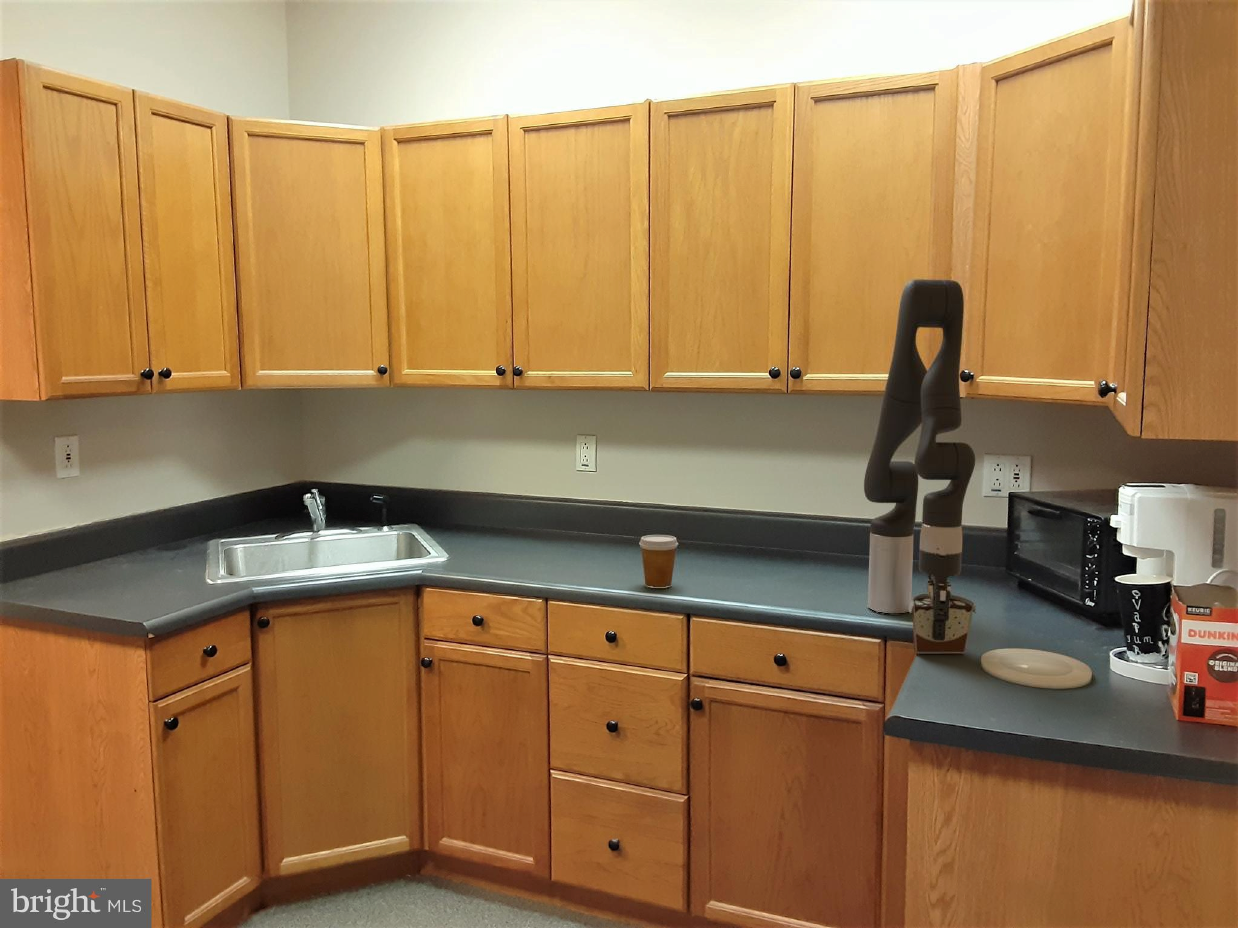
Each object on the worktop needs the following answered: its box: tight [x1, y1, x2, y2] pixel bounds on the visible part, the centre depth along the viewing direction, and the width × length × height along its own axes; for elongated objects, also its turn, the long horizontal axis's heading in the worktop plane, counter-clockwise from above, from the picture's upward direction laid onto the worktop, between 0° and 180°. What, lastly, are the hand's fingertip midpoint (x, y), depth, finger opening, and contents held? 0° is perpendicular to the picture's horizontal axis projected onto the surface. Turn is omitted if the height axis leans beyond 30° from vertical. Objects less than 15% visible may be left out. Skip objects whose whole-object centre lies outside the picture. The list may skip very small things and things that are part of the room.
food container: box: [909, 593, 977, 654], centre depth 174 cm, size 12×6×10 cm, turn 90°
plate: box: [980, 648, 1093, 690], centre depth 163 cm, size 18×18×1 cm
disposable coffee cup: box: [638, 534, 679, 587], centre depth 223 cm, size 10×10×12 cm
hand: (936, 634), depth 173 cm, fingers closed on food container, 5 cm apart
